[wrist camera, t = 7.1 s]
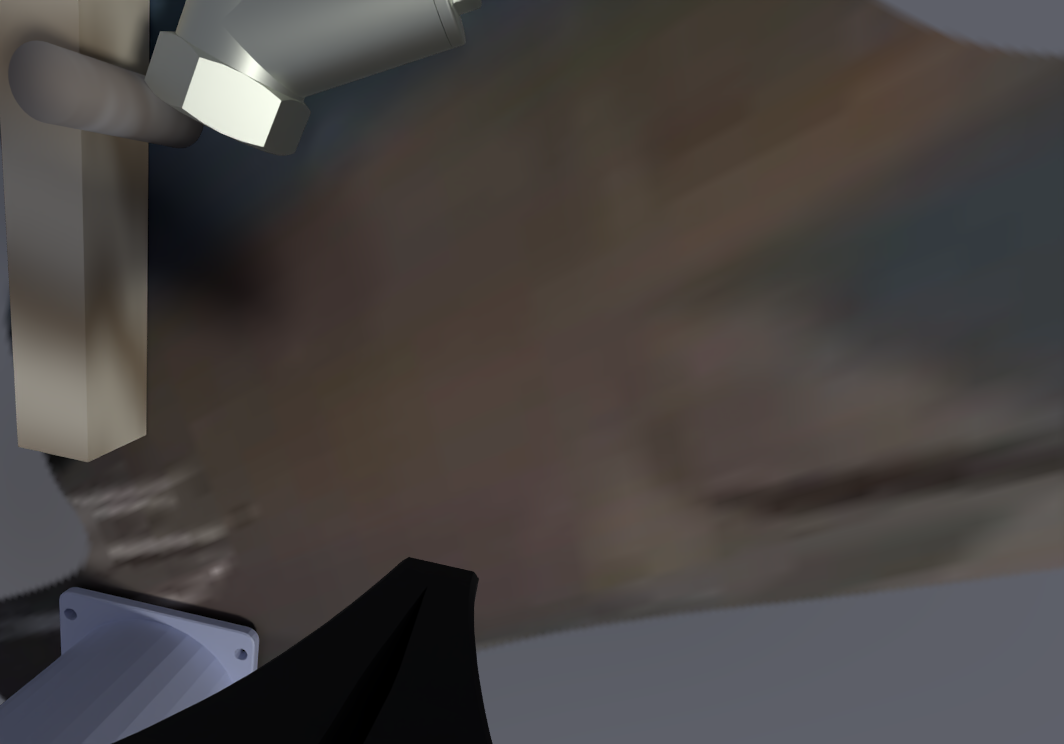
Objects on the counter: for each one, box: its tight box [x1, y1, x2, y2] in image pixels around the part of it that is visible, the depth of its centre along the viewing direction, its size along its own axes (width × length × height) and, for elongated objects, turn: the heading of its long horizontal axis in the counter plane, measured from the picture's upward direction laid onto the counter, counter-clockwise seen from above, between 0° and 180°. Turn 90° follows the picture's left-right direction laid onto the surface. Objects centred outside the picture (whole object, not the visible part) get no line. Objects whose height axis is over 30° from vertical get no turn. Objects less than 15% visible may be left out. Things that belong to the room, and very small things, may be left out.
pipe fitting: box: [144, 0, 482, 155], centre depth 15 cm, size 8×4×7 cm
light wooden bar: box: [0, 0, 203, 462], centre depth 16 cm, size 22×4×4 cm, turn 170°
